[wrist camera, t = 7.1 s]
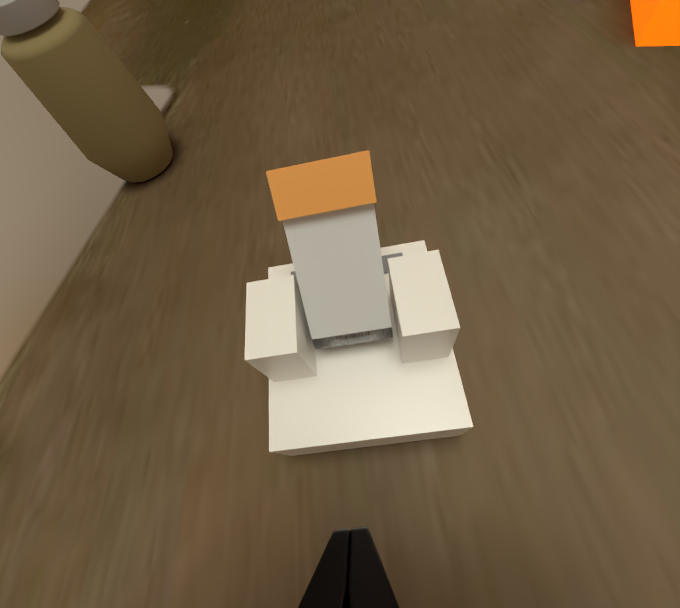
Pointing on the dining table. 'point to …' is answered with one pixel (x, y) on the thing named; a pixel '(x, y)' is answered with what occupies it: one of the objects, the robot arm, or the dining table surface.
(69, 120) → the squeeze bottle
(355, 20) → the dining table surface
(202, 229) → the dining table surface
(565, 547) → the dining table surface
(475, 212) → the dining table surface
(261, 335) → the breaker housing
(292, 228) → the lever
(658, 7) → the orange juice
